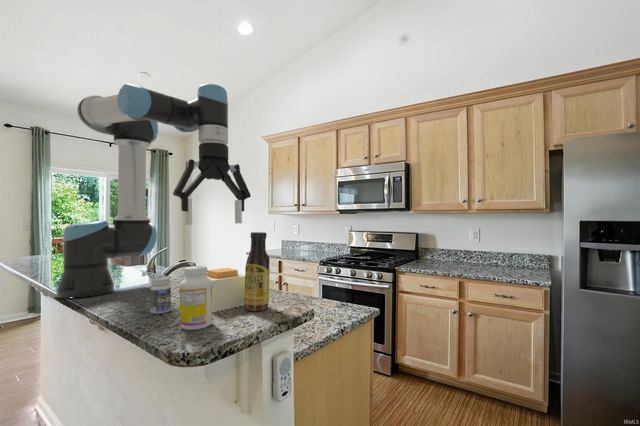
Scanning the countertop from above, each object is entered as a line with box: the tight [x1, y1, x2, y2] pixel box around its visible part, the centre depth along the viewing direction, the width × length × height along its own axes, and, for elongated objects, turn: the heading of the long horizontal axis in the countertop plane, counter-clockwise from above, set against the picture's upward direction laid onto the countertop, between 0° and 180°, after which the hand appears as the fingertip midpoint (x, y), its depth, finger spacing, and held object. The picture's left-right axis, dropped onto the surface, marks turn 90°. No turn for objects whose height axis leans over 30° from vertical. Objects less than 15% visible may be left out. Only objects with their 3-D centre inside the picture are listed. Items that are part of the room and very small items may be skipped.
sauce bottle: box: [244, 231, 271, 312], centre depth 84 cm, size 6×6×20 cm
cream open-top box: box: [206, 272, 245, 313], centre depth 88 cm, size 12×10×9 cm
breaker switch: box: [207, 267, 239, 279], centre depth 88 cm, size 6×6×2 cm
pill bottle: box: [149, 276, 172, 315], centre depth 83 cm, size 5×5×8 cm
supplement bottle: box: [179, 265, 213, 331], centre depth 71 cm, size 7×7×13 cm
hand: (214, 224), depth 86 cm, fingers open, 13 cm apart
